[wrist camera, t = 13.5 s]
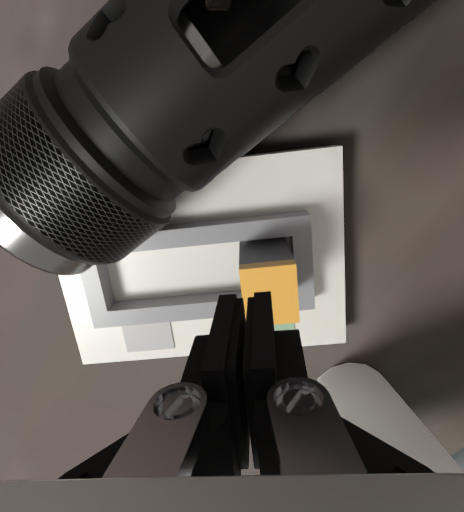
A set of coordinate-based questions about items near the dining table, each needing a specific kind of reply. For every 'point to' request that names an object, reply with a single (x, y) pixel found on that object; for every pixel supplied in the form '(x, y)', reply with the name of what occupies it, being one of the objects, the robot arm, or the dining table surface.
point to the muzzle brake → (162, 113)
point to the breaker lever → (270, 276)
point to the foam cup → (384, 414)
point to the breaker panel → (220, 260)
